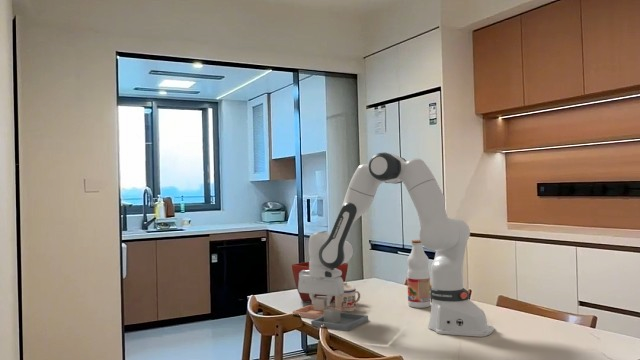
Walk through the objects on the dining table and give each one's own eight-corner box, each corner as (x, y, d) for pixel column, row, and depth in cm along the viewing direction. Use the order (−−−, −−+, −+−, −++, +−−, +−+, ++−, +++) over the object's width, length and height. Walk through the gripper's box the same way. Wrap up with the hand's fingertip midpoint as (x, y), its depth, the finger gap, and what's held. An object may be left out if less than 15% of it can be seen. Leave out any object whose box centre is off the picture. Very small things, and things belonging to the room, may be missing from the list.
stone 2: (340, 321, 197) (340, 309, 197) (333, 324, 193) (332, 311, 194) (331, 319, 200) (331, 308, 200) (323, 322, 196) (323, 310, 196)
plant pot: (350, 299, 238) (349, 262, 238) (321, 307, 224) (320, 268, 224) (320, 294, 251) (319, 259, 251) (291, 301, 237) (290, 264, 238)
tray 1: (341, 314, 210) (341, 308, 210) (325, 321, 200) (325, 315, 200) (309, 310, 218) (309, 305, 218) (292, 317, 208) (292, 311, 208)
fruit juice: (430, 308, 216) (428, 241, 217) (407, 308, 218) (405, 241, 219) (430, 303, 225) (428, 238, 226) (408, 303, 227) (406, 239, 228)
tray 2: (368, 321, 198) (368, 315, 198) (347, 332, 184) (347, 325, 184) (333, 317, 206) (333, 311, 206) (311, 327, 192) (311, 320, 192)
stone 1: (324, 310, 209) (323, 299, 209) (313, 309, 211) (313, 298, 211) (328, 307, 213) (327, 296, 213) (318, 306, 215) (317, 296, 215)
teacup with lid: (342, 313, 212) (341, 285, 212) (330, 309, 220) (329, 281, 220) (366, 309, 218) (365, 281, 218) (354, 305, 225) (353, 278, 226)
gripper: (294, 270, 215) (295, 304, 215) (337, 273, 204) (338, 309, 204) (303, 268, 220) (304, 301, 220) (345, 271, 209) (346, 306, 209)
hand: (320, 305), depth 212 cm, fingers open, 5 cm apart
